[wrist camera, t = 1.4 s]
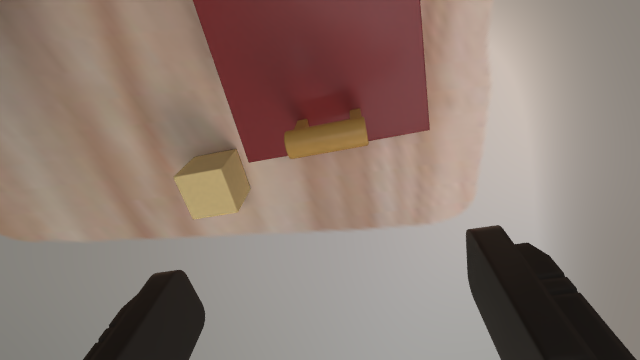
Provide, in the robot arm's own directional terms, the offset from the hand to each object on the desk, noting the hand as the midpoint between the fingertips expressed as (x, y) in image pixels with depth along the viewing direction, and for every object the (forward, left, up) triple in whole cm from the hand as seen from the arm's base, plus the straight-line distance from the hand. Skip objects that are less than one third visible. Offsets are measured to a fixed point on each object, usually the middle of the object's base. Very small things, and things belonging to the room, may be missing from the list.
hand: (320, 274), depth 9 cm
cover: (0, +4, -15) cm, 15 cm away
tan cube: (-12, -5, -20) cm, 24 cm away
